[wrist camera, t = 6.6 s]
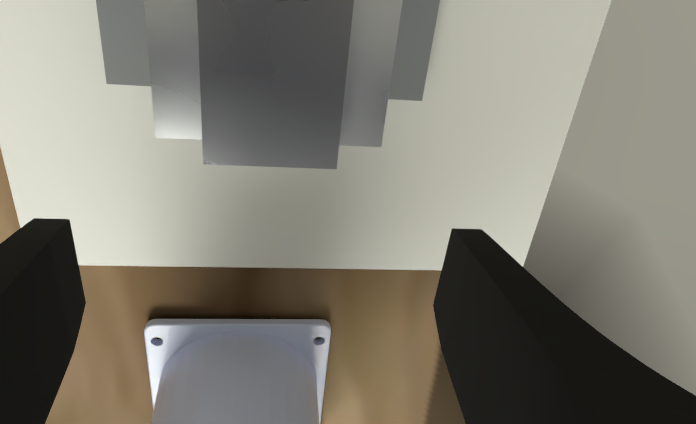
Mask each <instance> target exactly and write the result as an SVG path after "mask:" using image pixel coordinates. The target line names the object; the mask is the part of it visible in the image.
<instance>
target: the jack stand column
mask: <svg viewBox="0 0 696 424" xmlns="http://www.w3.org/2000/svg"><path fill="white" fill-rule="evenodd" d="M402 2H403V0H144V7H145V19H146V30H147V42H148V54H149V66H150V77H151V89H152V101H153V112H154V124H155V136H156V138H174V139H197V140H202V149H203V164H208V165H235V166H262V167H289V168H316V169H337V161H338V151H339V146H361V147H381V145H382V139H383V132H384V125H385V118H386V111H387V104H388V98H389V91H390V84H391V77H392V70H393V63H394V56H395V50H396V43H397V36H398V29H399V22H400V15H401V8H402Z"/></svg>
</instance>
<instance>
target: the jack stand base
mask: <svg viewBox="0 0 696 424" xmlns="http://www.w3.org/2000/svg"><path fill="white" fill-rule="evenodd" d="M610 4H611V0H403V2H402V8H401V15H400V22H399V29H398V36H397V43H396V50H395V56H394V63H393V70H392V77H391V84H390V91H389V98H388V104H387V111H386V118H385V125H384V132H383V139H382V145H381V147H361V146H339V151H338V161H337V169H316V168H289V167H262V166H235V165H208V164H203V149H202V140H197V139H174V138H156V136H155V124H154V112H153V101H152V89H151V77H150V66H149V54H148V42H147V30H146V19H145V7H144V0H0V147H1V151H2V155H3V159H4V163H5V167H6V171H7V175H8V179H9V183H10V187H11V191H12V196H13V200H14V204H15V208H16V212H17V216H18V220H19V224H20V228H22V227H23V226H24V225H25V224H27V223H28V222H30V221H31V220H32V219H34V218H43V219H70V224H71V229H72V235H73V240H74V245H75V250H76V255H77V260H78V265H104V266H175V267H247V268H318V269H389V270H442V267H443V263H444V259H445V255H446V251H447V246H448V242H449V238H450V234H451V230H452V228H454V229H482V230H483V231H484V232H485V233H487V234H488V235H489V236H490V237H491V238H492V239H493V240H494V241H496V242H497V243H498V244H499V245H500V246H501V247H502V248H503V249H504V250H505V251H506V252H507V253H508V254H509V255H511V256H512V257H513V258H514V259H515V260H516V261H517V262H518V263H519V264H520V265H521V266H522V267H523V265H524V262H525V259H526V256H527V253H528V250H529V247H530V244H531V241H532V238H533V235H534V232H535V229H536V226H537V223H538V220H539V217H540V214H541V211H542V208H543V205H544V202H545V199H546V196H547V193H548V190H549V187H550V184H551V181H552V178H553V175H554V172H555V169H556V166H557V163H558V160H559V157H560V154H561V151H562V148H563V145H564V142H565V139H566V136H567V133H568V130H569V127H570V124H571V121H572V118H573V115H574V112H575V109H576V106H577V103H578V100H579V97H580V94H581V91H582V88H583V85H584V82H585V79H586V76H587V73H588V70H589V67H590V64H591V61H592V58H593V55H594V52H595V49H596V46H597V43H598V40H599V37H600V34H601V31H602V28H603V25H604V22H605V18H606V15H607V13H608V10H609V7H610Z"/></svg>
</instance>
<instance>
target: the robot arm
mask: <svg viewBox="0 0 696 424" xmlns="http://www.w3.org/2000/svg"><path fill="white" fill-rule="evenodd" d="M85 304H86V302H85V297H84V292H83V286H82V281H81V276H80V271H79V266H78V260H77V255H76V250H75V245H74V240H73V235H72V229H71V224H70V219H43V218H34V219H32V220H31V221H30V222H28V223H27V224H25V225H24V226H23V227H22V228H20V229H19V230H18V231H16V232H15V233H14V234H12V235H11V236H10V237H9V238H7V239H6V240H5V241H4V242H2V243H1V244H0V424H45V422H46V419H47V417H48V414H49V412H50V409H51V407H52V405H53V402H54V400H55V397H56V395H57V392H58V390H59V387H60V385H61V382H62V380H63V377H64V375H65V372H66V370H67V367H68V365H69V362H70V359H71V357H72V354H73V352H74V348H75V344H76V341H77V337H78V333H79V329H80V325H81V321H82V316H83V312H84V308H85ZM433 306H434V312H435V318H436V324H437V329H438V334H439V339H440V344H441V349H442V352H443V355H444V358H445V362H446V365H447V368H448V371H449V374H450V377H451V380H452V383H453V386H454V389H455V392H456V395H457V398H458V401H459V404H460V407H461V410H462V413H463V416H464V419H465V422H466V424H696V396H695V395H693V394H692V393H690V392H688V391H687V390H685V389H683V388H681V387H680V386H678V385H676V384H675V383H673V382H672V381H670V380H668V379H666V378H665V377H663V376H662V375H660V374H659V373H657V372H656V371H654V370H652V369H651V368H649V367H647V366H646V365H645V364H643V363H642V362H640V361H639V360H637V359H636V358H635V357H633V356H632V355H630V354H629V353H627V352H626V351H624V350H623V349H622V348H620V347H619V346H617V345H616V344H614V343H613V342H612V341H610V340H609V339H608V338H606V337H605V336H603V335H602V334H601V333H600V332H598V331H597V330H596V329H594V328H593V327H592V326H591V325H589V324H588V323H587V322H586V321H584V320H583V319H582V318H581V317H579V316H578V315H577V314H576V313H574V312H573V311H572V310H571V309H570V308H568V307H567V306H566V305H565V304H564V303H562V302H561V301H560V300H559V299H558V298H557V297H555V296H554V295H553V294H552V293H551V292H550V291H549V290H548V289H546V288H545V287H544V286H543V285H542V284H541V283H540V282H539V281H537V280H536V279H535V278H534V277H533V276H532V275H531V274H530V273H529V272H527V270H525V269H524V268H523V267H522V266H521V265H520V264H519V263H518V262H517V261H516V260H515V259H514V258H513V257H512V256H511V255H509V254H508V253H507V252H506V251H505V250H504V249H503V248H502V247H501V246H500V245H499V244H498V243H497V242H496V241H494V240H493V239H492V238H491V237H490V236H489V235H488V234H487V233H485V232H484V231H483V230H482V229H454V228H452V230H451V234H450V238H449V242H448V246H447V251H446V255H445V259H444V263H443V267H442V271H441V275H440V279H439V283H438V288H437V292H436V296H435V300H434V304H433ZM144 336H145V344H146V352H147V361H148V369H149V377H150V385H151V394H152V402H153V415H152V420H151V424H320V422H321V414H322V405H323V397H324V388H325V380H326V371H327V362H328V354H329V345H330V337H331V328H330V324H329V322H328V321H326V320H322V319H152V320H150V321H148V322H147V323H146V326H145V330H144ZM154 337H159V338H161V339H155V338H154ZM316 337H322V338H320V339H316Z"/></svg>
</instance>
